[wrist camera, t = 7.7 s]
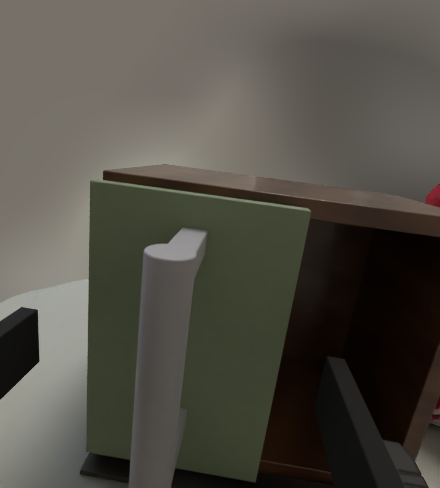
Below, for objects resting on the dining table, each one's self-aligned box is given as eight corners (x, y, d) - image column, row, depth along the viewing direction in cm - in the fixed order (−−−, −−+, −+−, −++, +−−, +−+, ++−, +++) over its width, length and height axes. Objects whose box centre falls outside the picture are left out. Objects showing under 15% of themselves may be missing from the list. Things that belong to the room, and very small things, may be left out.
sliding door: (17, 577, 13) (-9, 195, 9) (92, 440, 20) (97, 179, 15) (259, 625, 13) (353, 247, 8) (255, 469, 19) (308, 208, 15)
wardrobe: (79, 474, 18) (82, 172, 14) (151, 339, 32) (164, 164, 27) (418, 536, 17) (543, 235, 13) (344, 370, 31) (392, 194, 26)
